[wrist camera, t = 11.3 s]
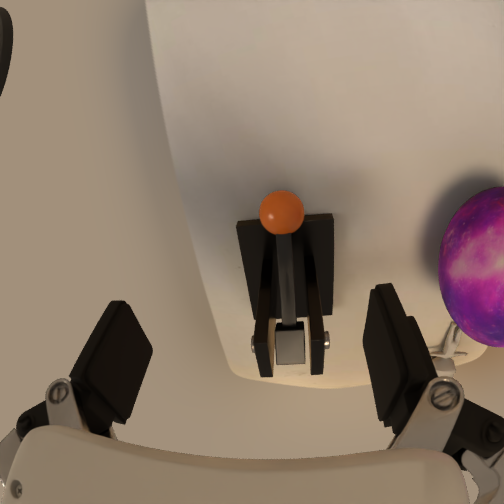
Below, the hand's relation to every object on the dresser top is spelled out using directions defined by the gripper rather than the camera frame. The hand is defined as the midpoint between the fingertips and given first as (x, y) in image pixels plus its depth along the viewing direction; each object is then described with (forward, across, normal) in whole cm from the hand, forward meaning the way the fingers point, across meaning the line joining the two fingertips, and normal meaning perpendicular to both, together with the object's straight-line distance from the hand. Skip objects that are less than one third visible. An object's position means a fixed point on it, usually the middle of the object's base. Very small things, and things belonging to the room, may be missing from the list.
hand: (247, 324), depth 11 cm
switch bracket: (+17, -1, +10) cm, 20 cm away
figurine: (+17, -26, +22) cm, 37 cm away
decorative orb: (+17, -23, +7) cm, 29 cm away
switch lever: (+11, -1, +6) cm, 13 cm away
